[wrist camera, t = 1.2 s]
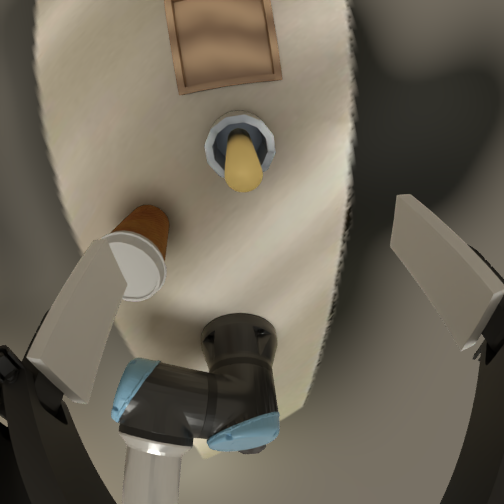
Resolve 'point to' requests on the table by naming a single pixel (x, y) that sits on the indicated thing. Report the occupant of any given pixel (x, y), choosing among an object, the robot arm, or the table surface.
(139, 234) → the disposable coffee cup
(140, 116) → the table surface
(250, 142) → the dowel
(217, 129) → the pen cup
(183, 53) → the tray
